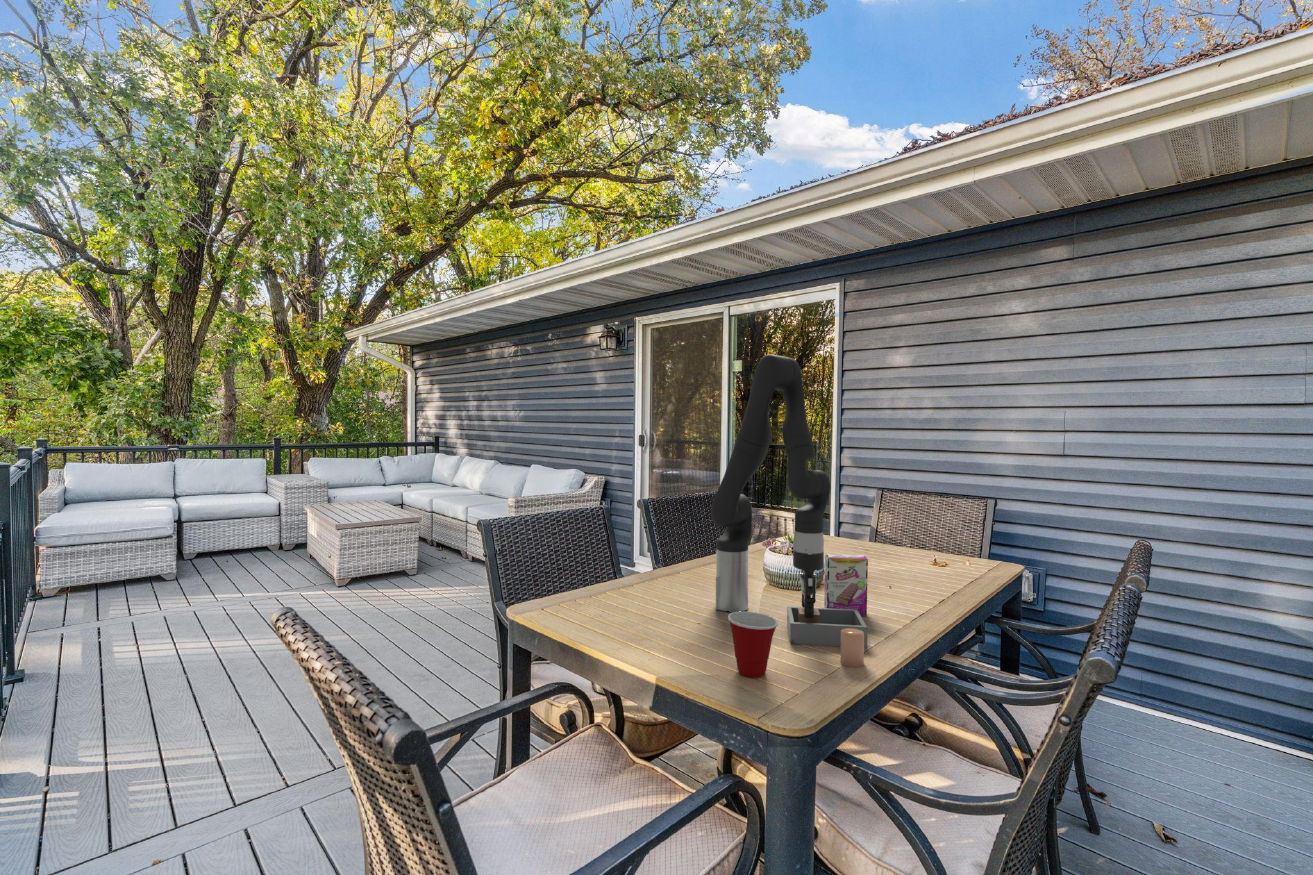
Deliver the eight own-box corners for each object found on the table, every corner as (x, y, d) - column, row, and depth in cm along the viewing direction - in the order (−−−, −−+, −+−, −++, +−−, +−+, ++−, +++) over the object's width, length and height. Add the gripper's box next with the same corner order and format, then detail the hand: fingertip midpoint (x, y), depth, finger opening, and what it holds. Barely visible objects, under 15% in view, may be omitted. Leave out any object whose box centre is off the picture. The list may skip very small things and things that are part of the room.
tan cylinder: (842, 666, 133) (842, 635, 133) (839, 658, 138) (839, 627, 138) (865, 668, 132) (866, 636, 132) (861, 659, 137) (861, 628, 137)
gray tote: (790, 643, 147) (790, 623, 147) (786, 625, 161) (787, 606, 161) (867, 647, 144) (867, 627, 144) (857, 628, 158) (857, 609, 158)
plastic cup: (784, 682, 125) (784, 624, 124) (733, 684, 124) (733, 626, 124) (770, 662, 136) (770, 609, 135) (723, 663, 135) (723, 610, 134)
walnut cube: (799, 633, 151) (799, 613, 151) (798, 627, 156) (798, 608, 156) (819, 634, 150) (820, 614, 150) (817, 628, 155) (818, 609, 155)
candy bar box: (827, 615, 169) (827, 557, 169) (823, 610, 174) (824, 553, 174) (868, 616, 168) (868, 558, 168) (863, 611, 173) (864, 554, 173)
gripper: (791, 542, 160) (790, 603, 161) (795, 554, 146) (794, 620, 147) (820, 544, 159) (819, 605, 160) (826, 555, 145) (825, 622, 145)
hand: (807, 612), depth 153 cm, fingers open, 8 cm apart
